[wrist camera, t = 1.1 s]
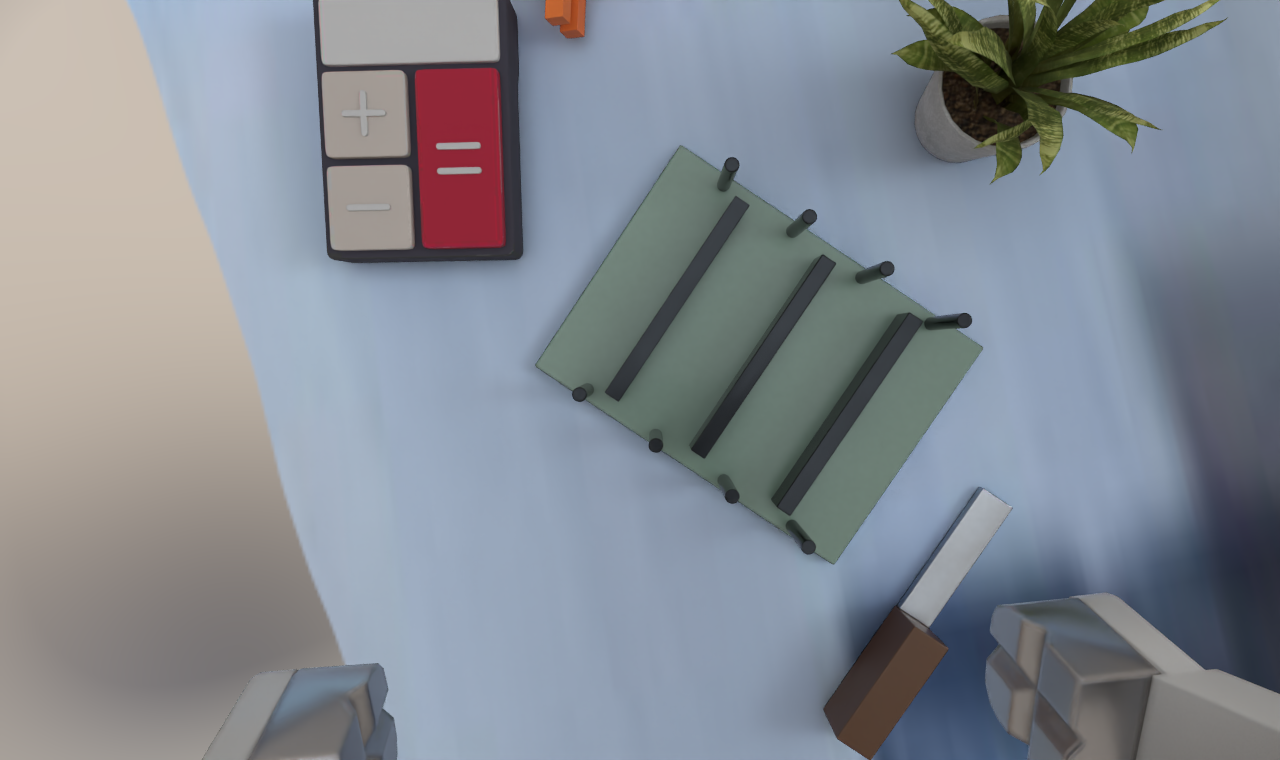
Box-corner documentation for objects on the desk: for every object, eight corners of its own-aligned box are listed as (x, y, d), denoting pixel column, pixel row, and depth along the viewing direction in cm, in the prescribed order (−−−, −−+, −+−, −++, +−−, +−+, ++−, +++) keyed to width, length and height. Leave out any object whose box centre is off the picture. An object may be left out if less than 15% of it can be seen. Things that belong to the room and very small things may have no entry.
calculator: (320, 259, 43) (304, -16, 41) (351, 263, 47) (337, 15, 46) (512, 255, 42) (503, -21, 41) (525, 260, 47) (517, 10, 45)
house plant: (1004, -65, 45) (1205, -304, 29) (1132, 126, 45) (1403, -1, 29) (806, 73, 45) (892, -84, 29) (933, 262, 46) (1089, 212, 29)
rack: (978, 347, 46) (1025, 347, 40) (830, 561, 47) (856, 591, 41) (680, 147, 46) (683, 118, 40) (536, 365, 46) (519, 367, 41)
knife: (854, 730, 47) (870, 761, 43) (822, 708, 47) (836, 738, 43) (1010, 506, 46) (1040, 520, 43) (977, 485, 46) (1005, 496, 43)
